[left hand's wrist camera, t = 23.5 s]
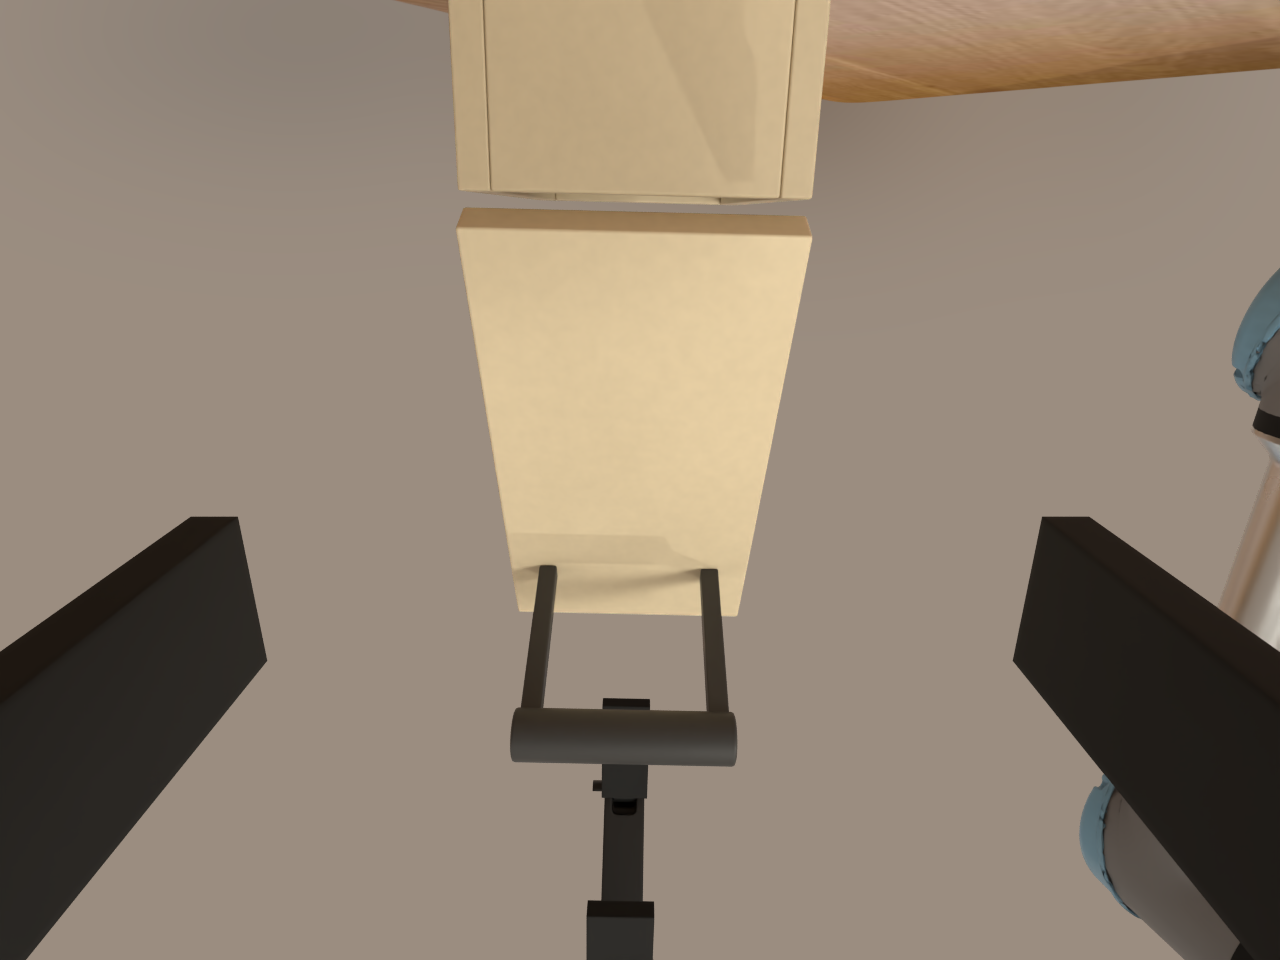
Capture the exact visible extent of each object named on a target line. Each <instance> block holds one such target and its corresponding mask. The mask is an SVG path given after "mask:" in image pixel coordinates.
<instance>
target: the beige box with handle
mask: <svg viewBox="0 0 1280 960" xmlns="http://www.w3.org/2000/svg"><path fill="white" fill-rule="evenodd" d="M456 233H457V239H458V245H459V251H460V257H461V263H462V269H463V276H464V282H465V288H466V294H467V300H468V306H469V312H470V318H471V324H472V330H473V336H474V342H475V349H476V354H477V361H478V367H479V373H480V379H481V385H482V391H483V397H484V403H485V409H486V415H487V421H488V428H489V434H490V440H491V446H492V452H493V458H494V464H495V470H496V476H497V482H498V488H499V495H500V500H501V506H502V513H503V518H504V525H505V531H506V537H507V543H508V549H509V555H510V561H511V567H512V573H513V580H514V585H515V592H516V598H517V604H518V610H519V611H520V612H533V619H532V627H531V634H530V642H529V650H528V657H527V665H526V672H525V680H524V687H523V695H522V703H521V708H516V710H515V712H514V715H513V719H512V726H511V738H510V752H511V758H512V761H514V762H536V763H584V764H633V765H682V766H734V765H735V762H736V758H737V727H736V719H735V716H734V714H733V713H732V712H729V707H728V694H727V681H726V668H725V655H724V642H723V629H722V616H737V615H738V610H739V605H740V600H741V595H742V590H743V585H744V580H745V575H746V570H747V565H748V560H749V555H750V550H751V545H752V540H753V534H754V530H755V524H756V519H757V514H758V509H759V504H760V499H761V494H762V489H763V484H764V479H765V474H766V469H767V464H768V459H769V454H770V449H771V444H772V439H773V434H774V429H775V424H776V418H777V414H778V409H779V404H780V399H781V393H782V388H783V383H784V379H785V373H786V368H787V363H788V358H789V353H790V348H791V343H792V338H793V333H794V328H795V323H796V318H797V313H798V308H799V303H800V298H801V293H802V288H803V283H804V278H805V273H806V268H807V263H808V258H809V253H810V248H811V243H812V234H811V231H810V228H809V225H808V221H807V218H806V217H805V216H779V215H741V214H700V213H661V212H622V211H583V210H544V209H503V208H464V209H463V211H462V214H461V216H460V219H459V221H458V224H457V227H456ZM554 612H562V613H609V614H653V615H699V616H702V632H703V651H704V669H705V688H706V706H707V711H659V710H612V709H565V708H543V704H544V695H545V686H546V677H547V668H548V659H549V649H550V640H551V631H552V622H553V613H554Z"/></svg>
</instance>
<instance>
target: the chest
mask: <svg viewBox="0 0 1280 960" xmlns="http://www.w3.org/2000/svg"><path fill="white" fill-rule="evenodd" d="M830 2H831V0H448V12H449V30H450V49H451V68H452V86H453V105H454V124H455V142H456V161H457V180H458V189H459V190H461V191H469V192H477V193H485V194H494V195H502V196H510V197H518V198H527V199H535V200H554V201H555V200H558V201H595V202H634V203H673V204H712V205H718V204H720V205H743V204H755V203H768V202H782V201H794V200H807V199H811V198H812V193H813V183H814V172H815V162H816V151H817V140H818V130H819V119H820V108H821V98H822V87H823V77H824V66H825V55H826V45H827V34H828V24H829V13H830Z"/></svg>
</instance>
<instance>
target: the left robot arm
mask: <svg viewBox="0 0 1280 960" xmlns="http://www.w3.org/2000/svg"><path fill="white" fill-rule="evenodd" d="M266 662H267V658H266V653H265V648H264V643H263V638H262V633H261V628H260V623H259V618H258V613H257V609H256V604H255V599H254V594H253V589H252V584H251V579H250V574H249V569H248V564H247V559H246V555H245V550H244V545H243V540H242V535H241V530H240V525H239V520H238V517H190V518H188V519H187V520H186V521H184V522H183V523H181V524H180V525H179V526H177V527H176V528H174V529H173V530H172V531H170V532H169V533H167V534H166V535H164V536H163V537H162V538H160V539H159V540H157V541H156V542H155V543H153V544H152V545H150V546H149V547H147V548H146V549H145V550H143V551H142V552H140V553H139V554H138V555H136V556H135V557H133V558H132V559H130V560H129V561H128V562H126V563H125V564H123V565H122V566H121V567H119V568H118V569H116V570H115V571H114V572H112V573H111V574H109V575H108V576H106V577H105V578H104V579H102V580H101V581H100V582H98V583H97V584H95V585H94V586H92V587H91V588H90V589H88V590H87V591H85V592H84V593H82V594H81V595H80V596H78V597H77V598H76V599H74V600H73V601H71V602H70V603H68V604H67V605H66V606H64V607H63V608H61V609H60V610H59V611H57V612H56V613H54V614H53V615H51V616H50V617H49V618H47V619H46V620H44V621H43V622H42V623H40V624H39V625H37V626H36V627H34V628H33V629H32V630H30V631H29V632H27V633H26V634H25V635H23V636H22V637H20V638H19V639H18V640H16V641H15V642H13V643H12V644H10V645H9V646H8V647H6V648H5V649H3V650H2V651H1V652H0V960H26V959H27V958H28V956H29V955H30V954H31V953H32V952H33V950H34V949H35V948H36V947H37V945H38V944H39V943H40V942H41V940H42V939H43V938H44V937H45V935H46V934H47V933H48V932H49V930H50V929H51V928H52V927H53V926H54V924H55V923H56V922H57V921H58V919H59V918H60V917H61V916H62V914H63V913H64V912H65V911H66V909H67V908H68V907H69V906H70V905H71V903H72V902H73V901H74V900H75V898H76V897H77V896H78V894H79V893H80V892H81V891H82V890H83V888H84V887H85V886H86V885H87V883H88V882H89V881H90V880H91V878H92V877H93V876H94V875H95V874H96V872H97V871H98V870H99V869H100V867H101V866H102V865H103V864H104V862H105V861H106V860H107V859H108V857H109V856H110V855H111V854H112V852H113V851H114V850H115V849H116V847H117V846H118V845H119V844H120V842H121V841H122V840H123V839H124V838H125V836H126V835H127V834H128V833H129V831H130V830H131V829H132V828H133V826H134V825H135V824H136V823H137V821H138V820H139V819H140V818H141V817H142V815H143V814H144V813H145V812H146V810H147V809H148V808H149V807H150V805H151V804H152V803H153V802H154V800H155V799H156V798H157V797H158V795H159V794H160V793H161V792H162V790H163V789H164V788H165V787H166V785H167V784H168V783H169V782H170V781H171V779H172V778H173V777H174V776H175V774H176V773H177V772H178V771H179V769H180V768H181V767H182V766H183V764H184V763H185V762H186V761H187V759H188V758H189V757H190V756H191V755H192V753H193V752H194V751H195V750H196V748H197V747H198V746H199V745H200V743H201V742H202V741H203V740H204V738H205V737H206V736H207V735H208V733H209V732H210V731H211V730H212V728H213V727H214V726H215V725H216V724H217V722H218V721H219V720H220V719H221V717H222V716H223V715H224V714H225V712H226V711H227V710H228V709H229V707H230V706H231V705H232V704H233V702H234V701H235V700H236V699H237V698H238V696H239V695H240V694H241V693H242V691H243V690H244V689H245V688H246V686H247V685H248V684H249V683H250V681H251V680H252V679H253V678H254V676H255V675H256V674H257V673H258V671H259V670H260V669H261V668H262V667H263V665H264V664H265V663H266ZM1013 662H1014V663H1015V664H1016V665H1017V667H1018V668H1019V669H1020V670H1021V671H1022V673H1023V674H1024V675H1025V676H1026V678H1027V679H1028V680H1029V681H1030V683H1031V684H1032V685H1033V686H1034V688H1035V689H1036V690H1037V691H1038V693H1039V694H1040V695H1041V696H1042V698H1043V699H1044V700H1045V701H1046V702H1047V704H1048V705H1049V706H1050V707H1051V709H1052V710H1053V711H1054V712H1055V714H1056V715H1057V716H1058V717H1059V719H1060V720H1061V721H1062V722H1063V724H1064V725H1065V726H1066V727H1067V729H1068V730H1069V731H1070V732H1071V733H1072V735H1073V736H1074V737H1075V738H1076V740H1077V741H1078V742H1079V743H1080V745H1081V746H1082V747H1083V748H1084V750H1085V751H1086V752H1087V753H1088V755H1089V756H1090V757H1091V758H1092V759H1093V761H1094V762H1095V763H1096V764H1097V766H1098V767H1099V768H1100V769H1101V771H1102V772H1103V773H1104V774H1105V776H1106V777H1107V778H1108V779H1109V781H1110V782H1111V783H1112V784H1113V786H1114V787H1115V788H1116V789H1117V790H1118V792H1119V793H1120V794H1121V795H1122V797H1123V798H1124V799H1125V800H1126V802H1127V803H1128V804H1129V805H1130V807H1131V808H1132V809H1133V810H1134V812H1135V813H1136V814H1137V815H1138V817H1139V818H1140V819H1141V820H1142V821H1143V823H1144V824H1145V825H1146V826H1147V828H1148V829H1149V830H1150V831H1151V833H1152V834H1153V835H1154V836H1155V838H1156V839H1157V840H1158V841H1159V843H1160V844H1161V845H1162V846H1163V847H1164V849H1165V850H1166V851H1167V852H1168V854H1169V855H1170V856H1171V857H1172V859H1173V860H1174V861H1175V862H1176V864H1177V865H1178V866H1179V867H1180V869H1181V870H1182V871H1183V872H1184V874H1185V875H1186V876H1187V877H1188V878H1189V880H1190V881H1191V882H1192V883H1193V885H1194V886H1195V887H1196V888H1197V890H1198V891H1199V892H1200V893H1201V895H1202V896H1203V897H1204V898H1205V900H1206V901H1207V902H1208V903H1209V905H1210V906H1211V907H1212V908H1213V909H1214V911H1215V912H1216V913H1217V914H1218V916H1219V917H1220V918H1221V919H1222V921H1223V922H1224V923H1225V924H1226V926H1227V927H1228V928H1229V929H1230V931H1231V932H1232V933H1233V934H1234V935H1235V937H1236V938H1237V939H1238V940H1239V942H1240V943H1241V944H1242V945H1243V947H1244V948H1245V949H1246V950H1247V952H1248V953H1249V954H1250V955H1251V957H1252V958H1253V959H1254V960H1280V652H1279V651H1278V650H1277V649H1275V648H1274V647H1272V646H1271V645H1270V644H1268V643H1267V642H1265V641H1264V640H1262V639H1261V638H1260V637H1258V636H1257V635H1255V634H1254V633H1253V632H1251V631H1250V630H1248V629H1247V628H1246V627H1244V626H1243V625H1241V624H1240V623H1238V622H1237V621H1236V620H1234V619H1233V618H1231V617H1230V616H1229V615H1227V614H1226V613H1224V612H1223V611H1222V610H1220V609H1219V608H1217V607H1216V606H1214V605H1213V604H1212V603H1210V602H1209V601H1207V600H1206V599H1205V598H1203V597H1202V596H1200V595H1199V594H1198V593H1196V592H1195V591H1193V590H1192V589H1190V588H1189V587H1188V586H1186V585H1185V584H1183V583H1182V582H1181V581H1179V580H1178V579H1176V578H1175V577H1174V576H1172V575H1171V574H1169V573H1168V572H1166V571H1165V570H1164V569H1162V568H1161V567H1159V566H1158V565H1157V564H1155V563H1154V562H1152V561H1151V560H1150V559H1148V558H1147V557H1145V556H1144V555H1142V554H1141V553H1140V552H1138V551H1137V550H1135V549H1134V548H1133V547H1131V546H1130V545H1128V544H1127V543H1125V542H1124V541H1123V540H1121V539H1120V538H1118V537H1117V536H1116V535H1114V534H1113V533H1111V532H1110V531H1108V530H1107V529H1106V528H1104V527H1103V526H1101V525H1100V524H1099V523H1097V522H1096V521H1094V520H1093V519H1092V518H1090V517H1042V520H1041V525H1040V530H1039V535H1038V540H1037V545H1036V550H1035V555H1034V560H1033V564H1032V569H1031V574H1030V579H1029V584H1028V589H1027V594H1026V599H1025V604H1024V609H1023V613H1022V618H1021V623H1020V628H1019V633H1018V638H1017V643H1016V648H1015V653H1014V658H1013Z"/></svg>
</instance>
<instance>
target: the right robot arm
mask: <svg viewBox="0 0 1280 960" xmlns="http://www.w3.org/2000/svg"><path fill="white" fill-rule="evenodd" d="M1232 365H1233V366H1234V367H1235V368H1237V369H1236V371H1235V372H1234V377H1235V381H1236V383H1237V384H1238V386H1239V387H1240V388H1241V389H1242V390H1243V391H1244V392H1246V393H1248V394H1249V395H1250V397H1253V398H1255V399H1256V400H1259V401H1261V402H1260V404H1259V408H1258V411H1257V414H1256V416H1255V419H1254V422H1253V425H1252V429H1251V431H1252V433H1253V434H1254V435H1255V437H1256V438H1257V439H1258V441H1259V442H1260V443H1261V444H1262V446H1263V447H1264V448H1265V450H1266V451H1267V452H1268V454H1269V458H1270V460H1269V463H1268V466H1267V469H1266V471H1265V474H1264V477H1263V480H1262V483H1261V486H1260V488H1259V491H1258V494H1257V497H1256V500H1255V502H1254V505H1253V508H1252V511H1251V514H1250V517H1249V519H1248V522H1247V525H1246V528H1245V531H1244V533H1243V536H1242V539H1241V542H1240V545H1239V547H1238V550H1237V553H1236V556H1235V559H1234V562H1233V564H1232V567H1231V570H1230V573H1229V576H1228V579H1227V581H1226V584H1225V587H1224V590H1223V592H1222V595H1221V598H1220V601H1219V604H1218V607H1217V608H1219V609H1220V610H1222V611H1223V612H1224V613H1226V614H1227V615H1229V616H1230V617H1231V618H1233V619H1234V620H1236V621H1237V622H1238V623H1240V624H1241V625H1243V626H1244V627H1246V628H1247V629H1248V630H1250V631H1251V632H1253V633H1254V634H1255V635H1257V636H1258V637H1260V638H1261V639H1262V640H1264V641H1265V642H1267V643H1268V644H1270V645H1271V646H1272V647H1274V648H1275V649H1277V650H1278V651H1279V652H1280V268H1279V270H1277V271H1276V272H1275V274H1274V275H1273V276H1272V277H1271V278H1270V279H1269V280H1268V281H1267V282H1266V284H1265V285H1264V286H1263V288H1262V289H1261V290H1260V291H1259V293H1258V294H1257V296H1256V297H1255V299H1254V300H1253V302H1252V303H1251V305H1250V307H1249V309H1248V310H1247V312H1246V314H1245V316H1244V318H1243V320H1242V323H1241V325H1240V327H1239V330H1238V332H1237V335H1236V338H1235V342H1234V347H1233V352H1232ZM603 709H612V710H650V699H617V698H603ZM647 780H648V765H633V764H602V780H594V781H593V791H602V798H605V805H604V837H603V868H602V899H601V901H590V900H588V905H587V960H653V936H654V902H647V901H643V842H644V798H647ZM1102 780H1103V781H1102V784H1101V785H1100V786H1099V787H1094V788H1093V790H1092V792H1091V793H1090V795H1089V797H1088V799H1087V801H1086V804H1085V806H1084V809H1083V812H1082V816H1081V822H1080V834H1079V835H1080V846H1081V851H1082V854H1083V857H1084V859H1085V861H1086V864H1087V865H1088V867H1089V869H1090V870H1091V871H1092V873H1093V874H1094V875H1095V876H1096V878H1097V879H1098V880H1099V881H1100V882H1101V883H1102V884H1103V885H1104V886H1105V887H1106V888H1107V889H1108V890H1109V891H1110V892H1111V893H1112V894H1113V896H1114V898H1115V899H1116V900H1117V901H1118V902H1119V904H1121V906H1122V907H1123V908H1124V909H1126V910H1127V911H1128V912H1130V913H1131V914H1132V915H1134V916H1136V917H1138V918H1140V919H1142V920H1143V921H1144V922H1145V923H1146V924H1147V925H1148V926H1149V927H1151V928H1152V929H1153V930H1154V931H1155V932H1156V933H1157V934H1158V935H1159V936H1160V937H1161V938H1162V939H1163V940H1164V941H1165V942H1166V943H1167V944H1169V945H1170V946H1171V947H1172V948H1173V949H1174V950H1175V951H1176V952H1177V953H1178V954H1179V955H1180V956H1181V957H1182V958H1183V959H1184V960H1254V959H1253V958H1252V957H1251V955H1250V954H1249V953H1248V952H1247V950H1246V949H1245V948H1244V947H1243V945H1242V944H1241V943H1240V942H1239V940H1238V939H1237V938H1236V937H1235V935H1234V934H1233V933H1232V932H1231V931H1230V929H1229V928H1228V927H1227V926H1226V924H1225V923H1224V922H1223V921H1222V919H1221V918H1220V917H1219V916H1218V914H1217V913H1216V912H1215V911H1214V909H1213V908H1212V907H1211V906H1210V905H1209V903H1208V902H1207V901H1206V900H1205V898H1204V897H1203V896H1202V895H1201V893H1200V892H1199V891H1198V890H1197V888H1196V887H1195V886H1194V885H1193V883H1192V882H1191V881H1190V880H1189V878H1188V877H1187V876H1186V875H1185V874H1184V872H1183V871H1182V870H1181V869H1180V867H1179V866H1178V865H1177V864H1176V862H1175V861H1174V860H1173V859H1172V857H1171V856H1170V855H1169V854H1168V852H1167V851H1166V850H1165V849H1164V847H1163V846H1162V845H1161V844H1160V843H1159V841H1158V840H1157V839H1156V838H1155V836H1154V835H1153V834H1152V833H1151V831H1150V830H1149V829H1148V828H1147V826H1146V825H1145V824H1144V823H1143V821H1142V820H1141V819H1140V818H1139V817H1138V815H1137V814H1136V813H1135V812H1134V810H1133V809H1132V808H1131V807H1130V805H1129V804H1128V803H1127V802H1126V800H1125V799H1124V798H1123V797H1122V795H1121V794H1120V793H1119V792H1118V790H1117V789H1116V788H1115V787H1114V786H1113V784H1112V783H1111V782H1110V781H1109V779H1108V778H1107V777H1106V776H1105V774H1104V775H1103V776H1102Z"/></svg>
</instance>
